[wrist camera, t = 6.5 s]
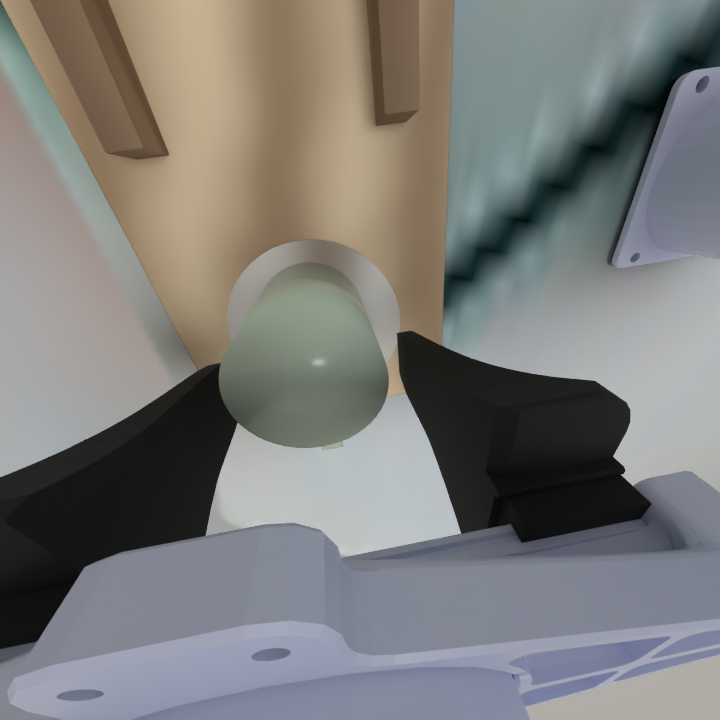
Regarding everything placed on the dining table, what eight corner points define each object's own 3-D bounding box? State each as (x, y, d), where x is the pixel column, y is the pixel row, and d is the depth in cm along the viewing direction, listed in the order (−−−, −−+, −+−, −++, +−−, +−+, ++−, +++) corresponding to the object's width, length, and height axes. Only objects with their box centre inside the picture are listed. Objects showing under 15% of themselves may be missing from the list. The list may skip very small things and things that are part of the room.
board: (453, -301, 7) (513, -527, 5) (435, 380, 19) (451, 404, 16) (-113, -255, 7) (-337, -488, 4) (230, 416, 18) (217, 447, 16)
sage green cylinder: (356, 254, 13) (383, 298, 7) (371, 388, 17) (396, 479, 11) (245, 270, 13) (187, 328, 7) (288, 401, 17) (272, 501, 11)
